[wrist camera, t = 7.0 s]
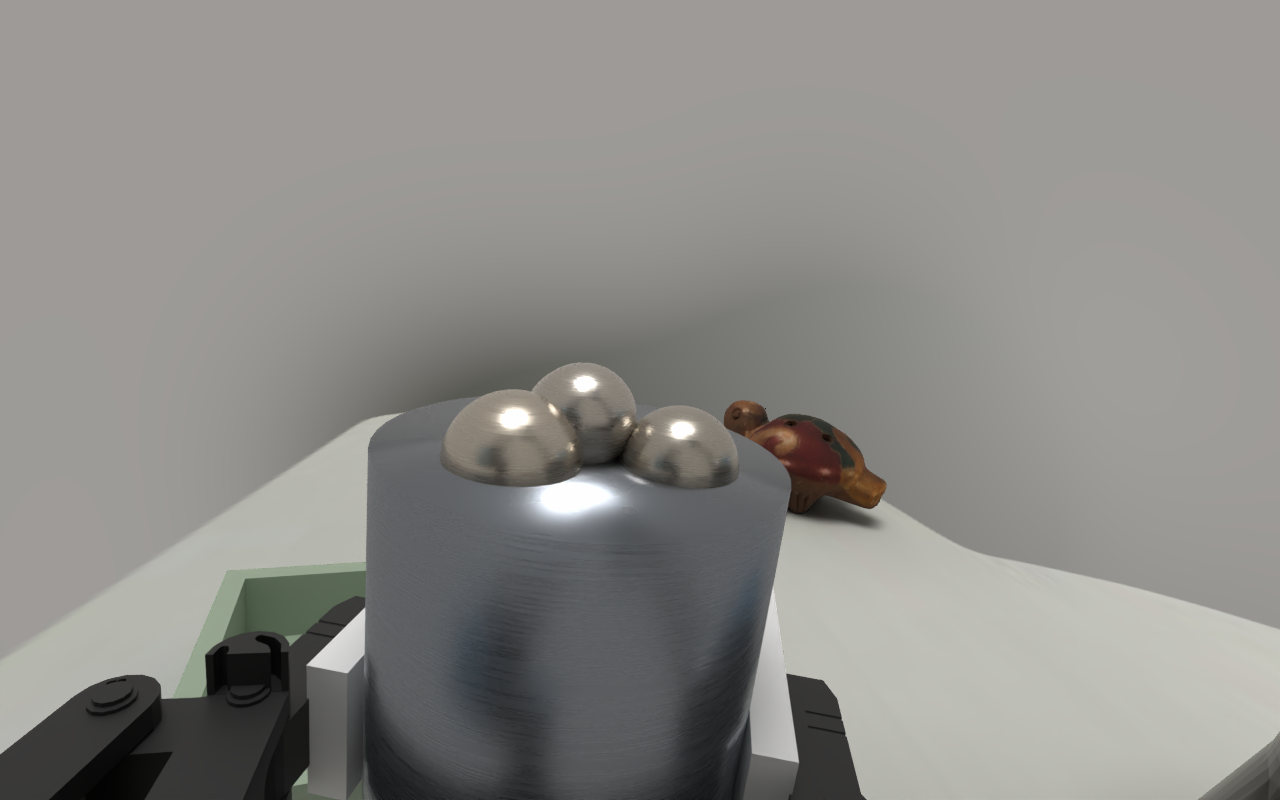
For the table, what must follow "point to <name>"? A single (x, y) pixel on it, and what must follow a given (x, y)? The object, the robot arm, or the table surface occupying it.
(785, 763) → the robot arm
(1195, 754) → the table surface
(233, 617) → the bin
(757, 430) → the decorative turtle
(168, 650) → the table surface
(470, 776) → the can
